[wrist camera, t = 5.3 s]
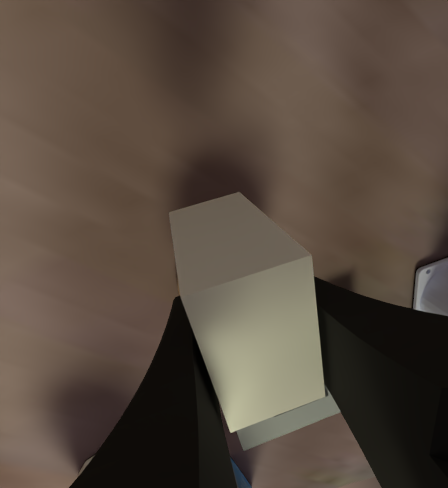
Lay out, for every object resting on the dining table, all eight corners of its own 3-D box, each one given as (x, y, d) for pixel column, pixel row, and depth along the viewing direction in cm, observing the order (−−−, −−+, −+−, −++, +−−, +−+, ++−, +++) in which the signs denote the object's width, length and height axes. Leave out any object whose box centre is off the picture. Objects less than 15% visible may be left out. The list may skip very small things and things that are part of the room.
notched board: (348, 291, 26) (362, 303, 24) (352, 386, 32) (364, 402, 31) (205, 342, 25) (209, 359, 23) (238, 431, 31) (243, 451, 29)
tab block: (239, 191, 12) (311, 254, 6) (259, 288, 14) (325, 396, 8) (168, 212, 11) (180, 297, 6) (200, 307, 13) (230, 432, 8)
